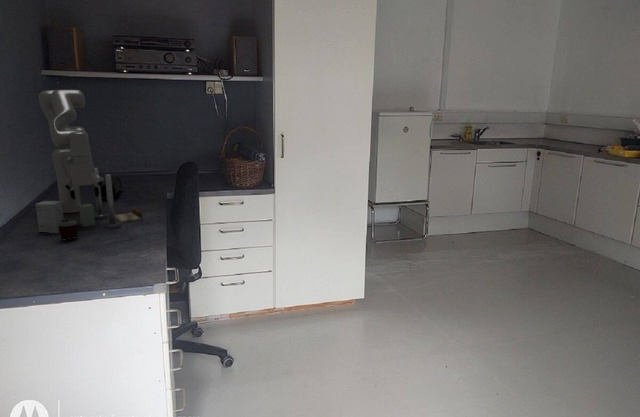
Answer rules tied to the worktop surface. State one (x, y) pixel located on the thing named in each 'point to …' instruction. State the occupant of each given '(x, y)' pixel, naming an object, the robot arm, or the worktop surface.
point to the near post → (110, 204)
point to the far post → (99, 203)
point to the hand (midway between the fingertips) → (85, 197)
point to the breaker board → (129, 216)
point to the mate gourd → (67, 227)
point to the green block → (87, 215)
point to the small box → (49, 216)
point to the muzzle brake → (115, 186)
